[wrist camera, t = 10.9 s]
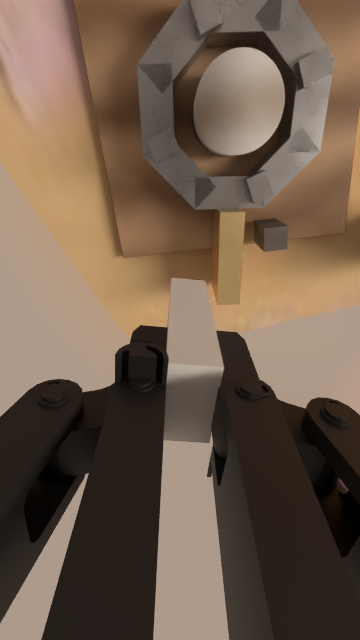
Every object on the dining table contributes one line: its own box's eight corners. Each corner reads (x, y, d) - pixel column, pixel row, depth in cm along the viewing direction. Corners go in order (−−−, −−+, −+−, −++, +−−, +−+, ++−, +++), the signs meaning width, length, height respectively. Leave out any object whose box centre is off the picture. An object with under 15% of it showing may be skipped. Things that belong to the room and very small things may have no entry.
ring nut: (136, 5, 23) (126, -33, 19) (327, -1, 23) (363, -40, 19) (154, 286, 33) (151, 306, 29) (288, 283, 33) (305, 302, 28)
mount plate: (68, -40, 23) (26, -116, 17) (376, -89, 22) (455, -188, 16) (125, 255, 33) (112, 277, 27) (339, 231, 32) (378, 248, 26)
